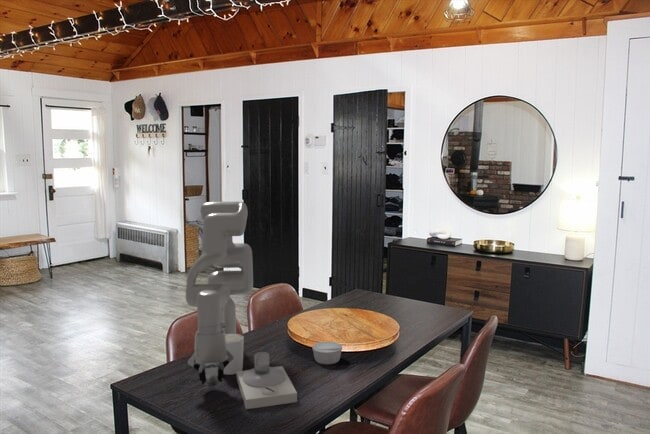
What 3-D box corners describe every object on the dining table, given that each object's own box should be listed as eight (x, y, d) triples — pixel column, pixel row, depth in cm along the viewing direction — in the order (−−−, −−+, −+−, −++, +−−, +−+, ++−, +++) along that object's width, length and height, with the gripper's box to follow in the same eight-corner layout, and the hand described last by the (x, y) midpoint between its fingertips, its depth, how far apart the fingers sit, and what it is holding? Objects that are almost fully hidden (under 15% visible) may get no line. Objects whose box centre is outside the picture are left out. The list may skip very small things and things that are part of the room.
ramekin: (325, 368, 191) (325, 354, 190) (306, 359, 199) (306, 345, 199) (348, 360, 198) (348, 347, 197) (329, 352, 206) (329, 339, 206)
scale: (236, 379, 181) (236, 368, 180) (282, 374, 185) (282, 363, 185) (246, 409, 160) (245, 396, 159) (297, 402, 164) (297, 389, 164)
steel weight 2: (253, 369, 180) (253, 352, 179) (268, 367, 181) (267, 351, 180) (255, 375, 175) (255, 358, 174) (270, 373, 176) (270, 356, 176)
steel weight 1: (201, 382, 173) (200, 365, 172) (214, 377, 176) (213, 360, 175) (209, 387, 169) (208, 370, 168) (222, 382, 173) (222, 365, 172)
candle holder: (218, 377, 183) (217, 344, 182) (216, 366, 192) (215, 334, 191) (246, 374, 186) (245, 341, 184) (243, 363, 195) (242, 332, 194)
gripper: (234, 321, 176) (236, 373, 179) (182, 327, 171) (184, 379, 174) (237, 329, 169) (239, 382, 172) (183, 335, 164) (185, 389, 167)
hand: (211, 380), depth 173 cm, fingers closed on steel weight 1, 5 cm apart
